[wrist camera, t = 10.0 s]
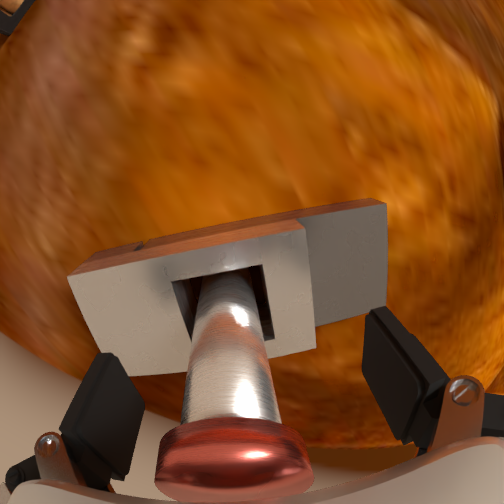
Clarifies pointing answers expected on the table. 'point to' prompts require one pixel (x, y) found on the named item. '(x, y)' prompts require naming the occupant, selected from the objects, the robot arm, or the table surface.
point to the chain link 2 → (325, 256)
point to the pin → (230, 409)
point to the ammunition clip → (12, 14)
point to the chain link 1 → (175, 301)
